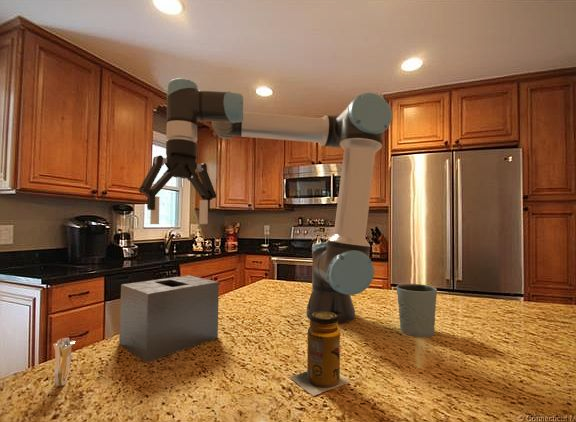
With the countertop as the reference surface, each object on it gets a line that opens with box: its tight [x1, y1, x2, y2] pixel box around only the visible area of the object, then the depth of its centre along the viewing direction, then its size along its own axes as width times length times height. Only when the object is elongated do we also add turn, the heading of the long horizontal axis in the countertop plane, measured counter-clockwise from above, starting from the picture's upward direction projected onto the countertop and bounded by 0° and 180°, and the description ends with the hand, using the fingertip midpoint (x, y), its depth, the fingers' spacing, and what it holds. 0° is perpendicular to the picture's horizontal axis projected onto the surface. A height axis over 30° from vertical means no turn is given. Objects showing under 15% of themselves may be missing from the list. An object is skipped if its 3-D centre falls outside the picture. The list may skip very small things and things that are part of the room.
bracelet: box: [53, 337, 76, 387], centre depth 54 cm, size 7×3×8 cm, turn 22°
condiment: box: [289, 311, 350, 397], centre depth 56 cm, size 7×8×12 cm
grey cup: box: [396, 283, 438, 338], centre depth 83 cm, size 10×10×12 cm
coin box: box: [118, 274, 220, 363], centre depth 74 cm, size 14×18×14 cm
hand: (180, 224), depth 77 cm, fingers open, 13 cm apart
